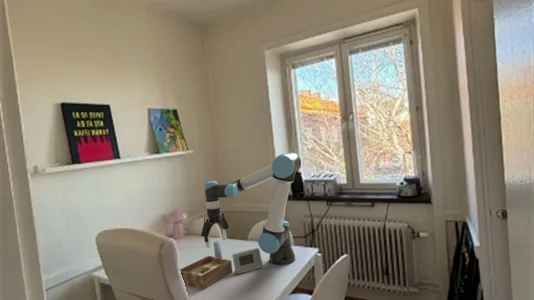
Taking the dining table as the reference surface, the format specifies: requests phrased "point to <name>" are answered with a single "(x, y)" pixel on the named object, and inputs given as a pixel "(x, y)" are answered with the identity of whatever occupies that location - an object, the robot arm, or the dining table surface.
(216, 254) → the dowel
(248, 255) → the digital clock
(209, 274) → the open box
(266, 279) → the dining table surface
